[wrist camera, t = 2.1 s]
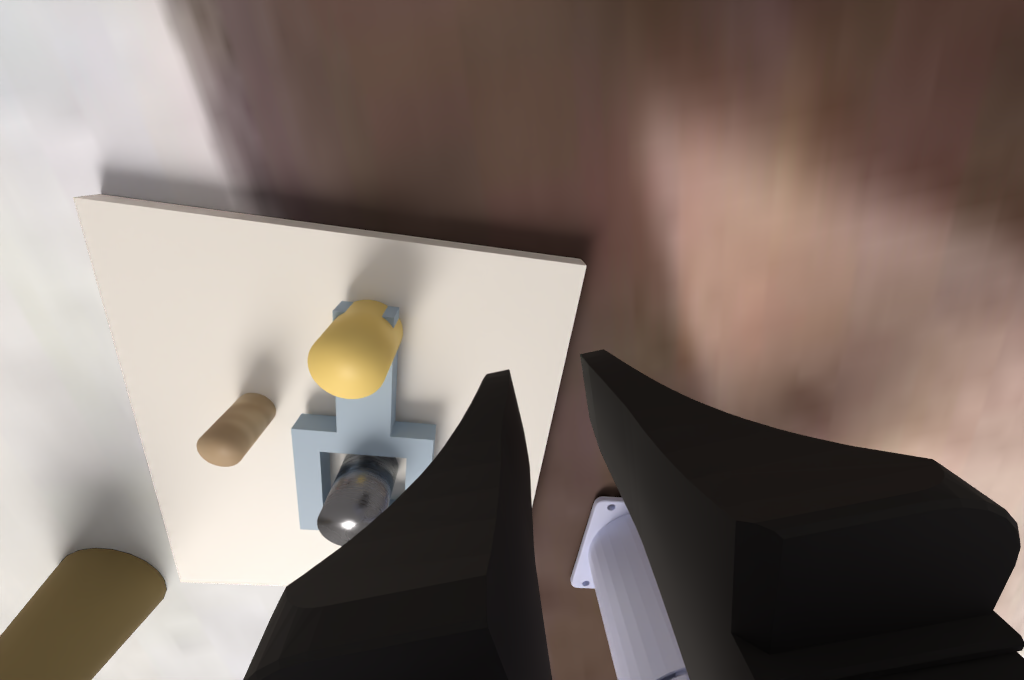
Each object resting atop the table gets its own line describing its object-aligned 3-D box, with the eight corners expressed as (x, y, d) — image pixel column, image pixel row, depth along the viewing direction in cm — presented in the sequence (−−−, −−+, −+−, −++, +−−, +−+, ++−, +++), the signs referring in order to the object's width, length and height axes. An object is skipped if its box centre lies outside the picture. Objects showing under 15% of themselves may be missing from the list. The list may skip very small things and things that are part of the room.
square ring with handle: (428, 517, 23) (419, 574, 20) (309, 510, 22) (281, 568, 19) (446, 308, 18) (438, 341, 15) (292, 290, 17) (250, 321, 14)
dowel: (285, 381, 21) (240, 434, 17) (288, 411, 21) (245, 468, 18) (247, 378, 20) (193, 430, 17) (251, 408, 21) (200, 465, 17)
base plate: (580, 258, 19) (586, 265, 18) (511, 577, 28) (512, 594, 27) (100, 193, 17) (72, 197, 16) (193, 563, 26) (180, 582, 25)
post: (403, 432, 22) (382, 504, 18) (401, 471, 24) (381, 548, 19) (350, 427, 22) (315, 500, 18) (350, 468, 23) (318, 545, 19)
